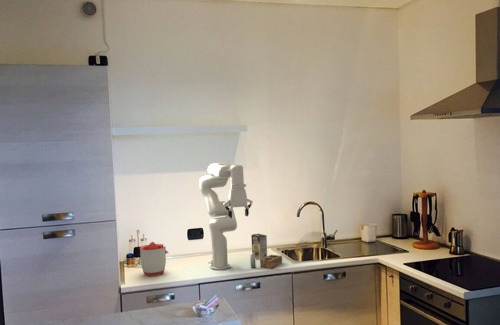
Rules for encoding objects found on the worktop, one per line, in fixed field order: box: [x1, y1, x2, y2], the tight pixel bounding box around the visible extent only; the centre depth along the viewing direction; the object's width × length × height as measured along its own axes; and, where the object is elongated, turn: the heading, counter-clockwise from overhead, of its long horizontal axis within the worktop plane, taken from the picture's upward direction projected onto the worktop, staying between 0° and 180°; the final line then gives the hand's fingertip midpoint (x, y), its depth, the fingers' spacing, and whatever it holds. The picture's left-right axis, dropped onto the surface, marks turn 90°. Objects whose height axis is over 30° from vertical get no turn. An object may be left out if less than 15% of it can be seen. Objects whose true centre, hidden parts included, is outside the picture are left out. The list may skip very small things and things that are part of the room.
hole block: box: [259, 254, 283, 270], centre depth 295 cm, size 8×14×5 cm, turn 149°
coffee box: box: [251, 233, 268, 261], centre depth 314 cm, size 9×6×16 cm
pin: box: [249, 250, 256, 269], centre depth 291 cm, size 3×3×10 cm
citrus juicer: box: [139, 241, 169, 277], centre depth 288 cm, size 16×17×20 cm
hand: (238, 216), depth 266 cm, fingers open, 9 cm apart
